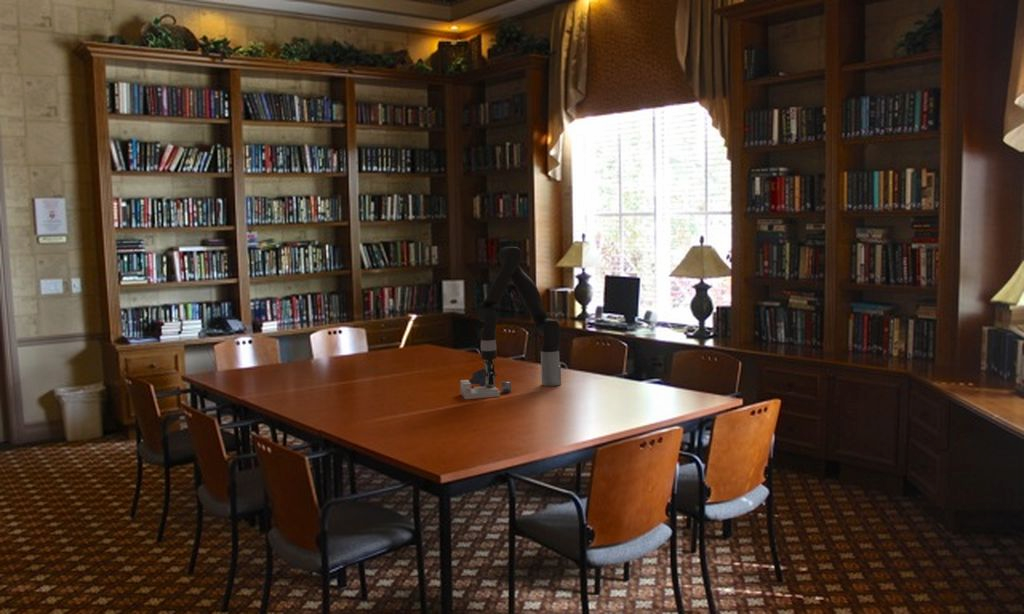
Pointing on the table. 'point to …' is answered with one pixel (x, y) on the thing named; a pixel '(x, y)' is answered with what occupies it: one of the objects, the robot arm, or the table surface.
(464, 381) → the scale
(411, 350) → the table surface
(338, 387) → the table surface
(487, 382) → the grey glossy egg shape
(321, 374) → the table surface
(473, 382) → the stone
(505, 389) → the cylinder
